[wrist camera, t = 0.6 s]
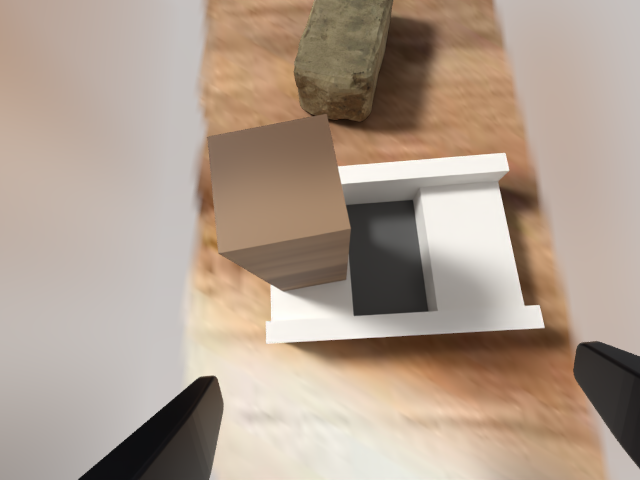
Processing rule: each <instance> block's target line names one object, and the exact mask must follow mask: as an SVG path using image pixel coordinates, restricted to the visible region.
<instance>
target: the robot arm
mask: <svg viewBox="0 0 640 480" xmlns="http://www.w3.org/2000/svg"><path fill="white" fill-rule="evenodd" d="M573 372H574V376H575V379H576V381H577V383H578V384H579V385H580V387H581V388H582V390H583V391H584V393H585V394H586V396H587V397H588V399H589V400H590V402H591V403H592V404H593V406H594V407H595V409H596V410H597V412H598V413H599V415H600V416H601V418H602V419H603V421H604V422H605V423H606V425H607V426H608V428H609V429H610V431H611V432H612V434H613V435H614V436H615V438H616V439H617V441H618V442H619V443H620V445H621V446H622V447H623V449H624V450H625V451H626V452H627V454H628V455H629V456H630V457H631V459H632V460H633V461H634V462H635V464H636V465H637V466H638V467H639V469H640V356H637V355H634V354H632V353H629V352H626V351H624V350H621V349H618V348H615V347H613V346H610V345H607V344H605V343H602V342H598V341H593V342H582V343H580V344H579V345H578V346H577V349H576V356H575V362H574V369H573ZM222 414H223V398H222V394H221V390H220V386H219V382H218V379H217V378H216V377H215V376H203V377H199V378H198V379H196V380H195V381H194V382H193V383H192V384H190V385H189V386H188V387H187V388H186V389H185V390H183V391H182V392H181V393H180V394H179V395H177V396H176V397H175V398H174V399H173V400H172V401H170V402H169V403H168V404H167V405H166V406H164V407H163V408H162V409H161V410H160V411H158V412H157V413H156V414H155V415H154V416H153V417H151V418H150V419H149V420H148V421H147V422H145V423H144V424H143V425H142V426H141V427H140V428H138V429H137V430H136V431H135V432H134V433H132V435H130V436H129V437H128V438H127V439H125V440H124V441H123V442H122V443H121V444H119V445H118V446H117V447H116V448H115V449H113V450H112V451H111V452H110V453H109V454H108V455H106V456H105V457H104V458H103V459H102V460H100V461H99V462H98V463H97V464H96V465H95V466H93V467H92V468H91V469H90V470H89V471H87V472H86V473H85V474H84V475H83V476H81V477H80V478H79V479H78V480H209V478H210V474H211V470H212V465H213V460H214V455H215V450H216V445H217V440H218V435H219V430H220V425H221V419H222Z"/></svg>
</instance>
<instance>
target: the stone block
mask: <svg viewBox="0 0 640 480" xmlns="http://www.w3.org/2000/svg"><path fill="white" fill-rule="evenodd" d="M392 4H393V0H314V3H313V6H312V9H311V13H310V16H309V19H308V22H307V26H306V28H305V30H304V33H303V35H302V37H301V40H300V43H299V48H298V54H297V57H296V59H295V62H294V66H295V68H294V76H295V81H296V85H297V87H298V93H299V100H300V106H301V107H302V109H303V110H305V111H307V112H309V113H310V114H313V115H315V116H318V115H323V114H327V117H328V119H332V120H338V119H340V118H341V119H345V118H347V119H349V120H355V121H358V122H360V121H363V120H365V119H366V118H367V117H368V116H369V114H370V113H371V108H372V102H373V98H374V93H375V89H376V84H377V78H378V73H379V70H380V67H381V64H382V60H383V57H384V53H385V48H386V40H387V35H388V29H389V24H390V20H391V11H392Z"/></svg>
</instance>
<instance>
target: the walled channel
mask: <svg viewBox="0 0 640 480" xmlns="http://www.w3.org/2000/svg"><path fill="white" fill-rule="evenodd" d="M338 170H339V175H340V180H341V184H342V189H343V194H344V199H345V203H346V208H347V213H348V218H349V223H350V227H351V232H350V243H349V254H348V266H347V277H346V280H342V281H337V282H332V283H326V284H321V285H315V286H310V287H304V288H299V289H294V290H288V291H281V290H280V289H278V288H276V287H274V286H273V285H271V321H266V344H268V343H286V342H304V341H322V340H339V339H357V338H375V337H393V336H410V335H428V334H446V333H464V332H481V331H499V330H517V329H534V328H545V327H544V323H543V318H542V314H541V310H540V305H532V306H524V301H523V297H522V292H521V287H520V283H519V278H518V273H517V268H516V264H515V259H514V254H513V250H512V245H511V240H510V236H509V231H508V226H507V222H506V217H505V212H504V208H503V203H502V198H501V194H500V189H499V184H498V181H499V180H500V179H501V178H502V177H503V176H504V175H505V174H506V173H507V172H508V171H509V167H508V163H507V159H506V154H505V153H498V154H485V155H473V156H461V157H449V158H437V159H424V160H412V161H400V162H388V163H376V164H363V165H351V166H339V167H338Z"/></svg>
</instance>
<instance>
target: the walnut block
mask: <svg viewBox="0 0 640 480" xmlns="http://www.w3.org/2000/svg"><path fill="white" fill-rule="evenodd" d="M207 138H208V148H209V159H210V169H211V180H212V190H213V201H214V212H215V222H216V233H217V243H218V253H219V254H220V255H222V256H224V257H225V258H227V259H229V260H231V261H232V262H234V263H236V264H237V265H239V266H241V267H242V268H244V269H246V270H247V271H249V272H251V273H253V274H254V275H256V276H258V277H259V278H261V279H263V280H264V281H266V282H268V283H269V284H271V285H273V286H274V287H276V288H278V289H280V290H281V291H288V290H294V289H299V288H304V287H310V286H315V285H321V284H326V283H332V282H337V281H342V280H346V277H347V266H348V254H349V243H350V232H351V227H350V223H349V218H348V213H347V208H346V203H345V199H344V194H343V189H342V184H341V180H340V175H339V170H338V165H337V160H336V156H335V151H334V146H333V141H332V137H331V132H330V127H329V122H328V117H327V114H323V115H318V116H312V117H307V118H302V119H297V120H292V121H287V122H281V123H276V124H271V125H266V126H261V127H256V128H250V129H245V130H240V131H235V132H230V133H225V134H219V135H214V136H209V137H207Z"/></svg>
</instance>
